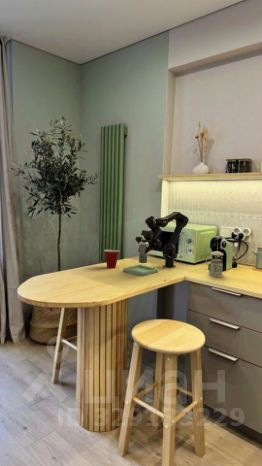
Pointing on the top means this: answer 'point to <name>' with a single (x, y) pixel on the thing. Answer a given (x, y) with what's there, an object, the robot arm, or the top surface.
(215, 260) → the french press
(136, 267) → the tray
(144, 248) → the cylinder
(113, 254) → the plastic cup
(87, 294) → the top surface
